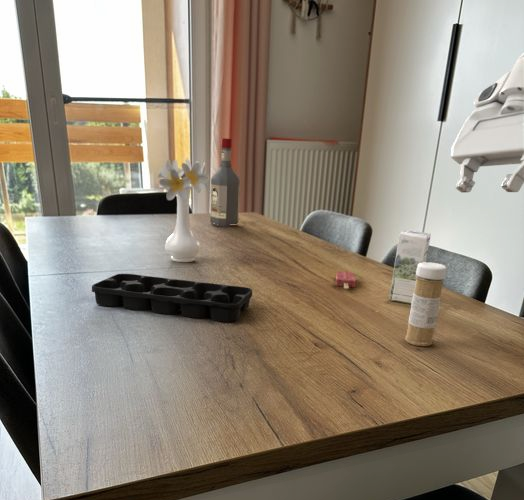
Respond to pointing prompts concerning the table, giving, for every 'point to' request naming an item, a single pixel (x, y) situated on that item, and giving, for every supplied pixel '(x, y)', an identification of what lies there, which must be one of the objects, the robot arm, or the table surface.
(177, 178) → the flower vase
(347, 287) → the popsicle
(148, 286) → the egg carton
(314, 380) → the table surface
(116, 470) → the table surface
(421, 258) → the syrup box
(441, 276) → the spice jar
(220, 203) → the liquor
